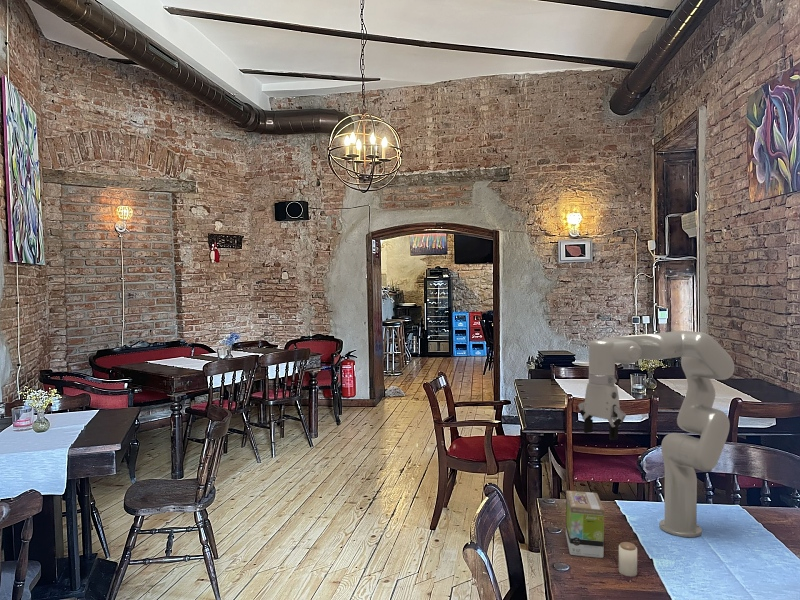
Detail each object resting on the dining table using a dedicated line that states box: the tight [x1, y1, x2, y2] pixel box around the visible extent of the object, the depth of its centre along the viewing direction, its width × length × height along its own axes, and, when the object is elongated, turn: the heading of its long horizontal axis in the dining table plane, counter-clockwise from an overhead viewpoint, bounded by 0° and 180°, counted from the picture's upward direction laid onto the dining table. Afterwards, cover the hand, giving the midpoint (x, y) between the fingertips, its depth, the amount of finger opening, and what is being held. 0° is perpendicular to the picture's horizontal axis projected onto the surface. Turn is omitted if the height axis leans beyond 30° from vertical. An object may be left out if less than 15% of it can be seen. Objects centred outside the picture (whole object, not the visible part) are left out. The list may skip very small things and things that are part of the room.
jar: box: [618, 541, 638, 577], centre depth 157 cm, size 5×5×8 cm
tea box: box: [565, 490, 605, 559], centre depth 173 cm, size 15×10×15 cm, turn 168°
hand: (600, 435), depth 172 cm, fingers open, 9 cm apart
